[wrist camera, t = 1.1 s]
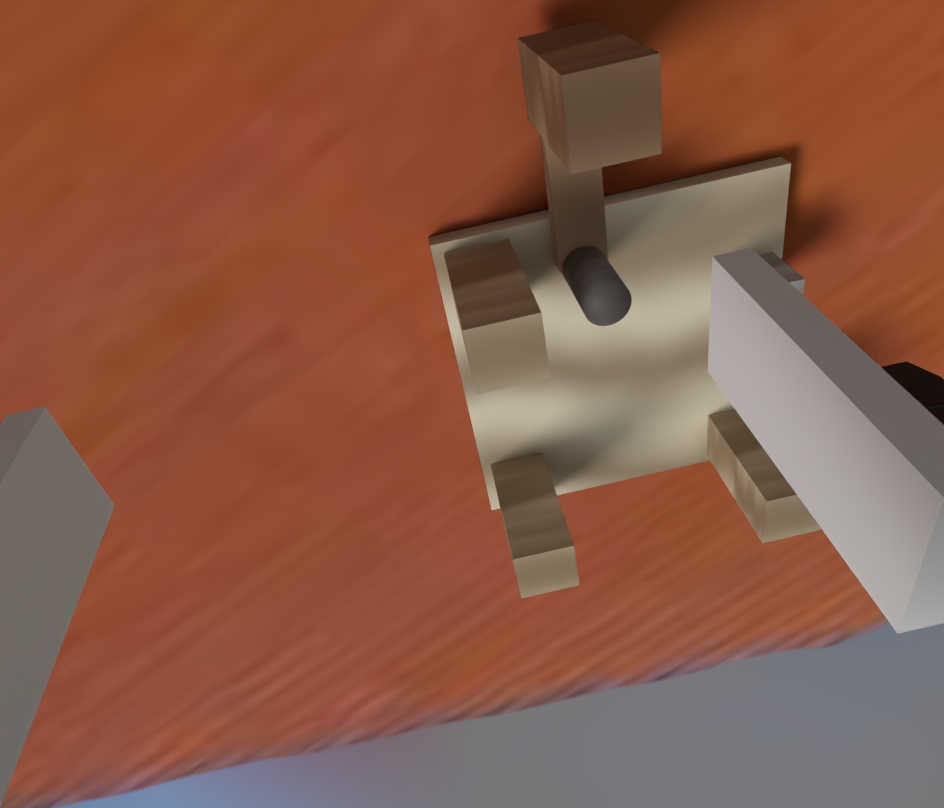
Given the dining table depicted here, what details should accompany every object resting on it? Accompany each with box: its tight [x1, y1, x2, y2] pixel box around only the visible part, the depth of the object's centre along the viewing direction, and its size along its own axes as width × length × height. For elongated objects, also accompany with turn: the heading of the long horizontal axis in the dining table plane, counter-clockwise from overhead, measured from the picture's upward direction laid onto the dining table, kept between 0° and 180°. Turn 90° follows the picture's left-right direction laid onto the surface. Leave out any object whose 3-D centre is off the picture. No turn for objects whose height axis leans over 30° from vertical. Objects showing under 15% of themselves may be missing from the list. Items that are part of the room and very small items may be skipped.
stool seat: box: [428, 157, 821, 598], centre depth 34 cm, size 17×16×8 cm
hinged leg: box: [518, 20, 662, 326], centre depth 27 cm, size 10×3×7 cm, turn 11°
